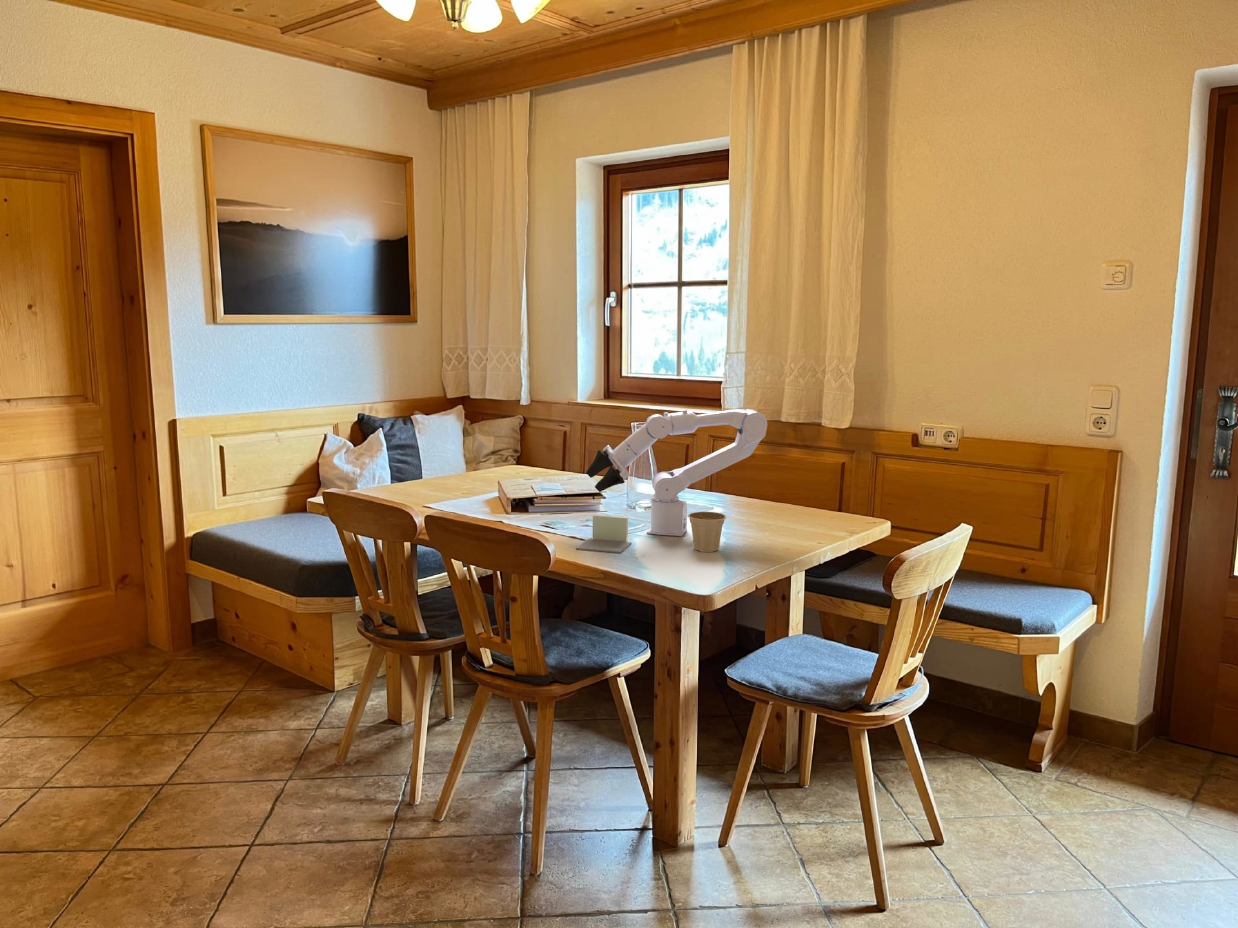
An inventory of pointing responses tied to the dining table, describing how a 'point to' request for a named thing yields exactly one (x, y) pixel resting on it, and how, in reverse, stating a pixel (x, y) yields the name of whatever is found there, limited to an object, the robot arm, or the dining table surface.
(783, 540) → the dining table surface
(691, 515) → the flower pot
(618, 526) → the tile
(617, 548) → the mat
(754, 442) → the robot arm
